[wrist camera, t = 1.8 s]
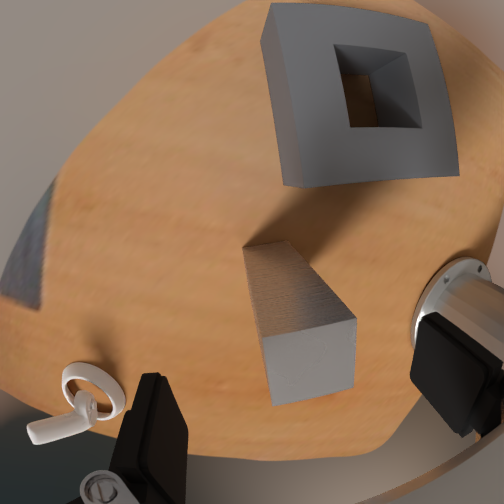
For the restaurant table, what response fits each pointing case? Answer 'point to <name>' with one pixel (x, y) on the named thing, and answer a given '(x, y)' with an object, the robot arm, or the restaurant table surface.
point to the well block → (334, 104)
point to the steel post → (299, 325)
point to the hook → (79, 405)
